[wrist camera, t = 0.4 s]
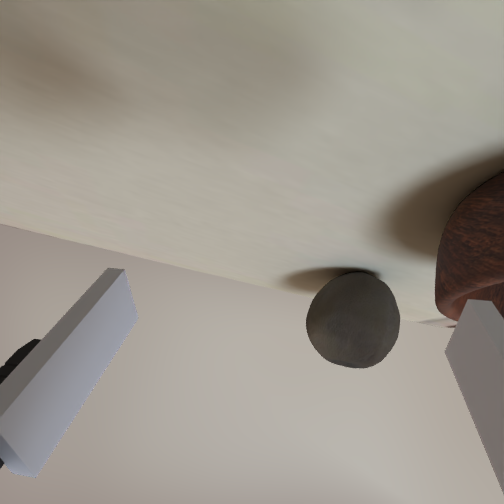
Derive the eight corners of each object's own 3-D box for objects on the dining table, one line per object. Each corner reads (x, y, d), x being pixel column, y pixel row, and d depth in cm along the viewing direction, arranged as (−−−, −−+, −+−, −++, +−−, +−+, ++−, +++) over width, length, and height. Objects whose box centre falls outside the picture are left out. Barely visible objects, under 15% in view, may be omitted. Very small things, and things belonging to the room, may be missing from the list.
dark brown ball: (352, 253, 47) (353, 362, 41) (415, 276, 53) (424, 373, 48) (293, 274, 59) (288, 362, 53) (350, 291, 65) (352, 371, 59)
